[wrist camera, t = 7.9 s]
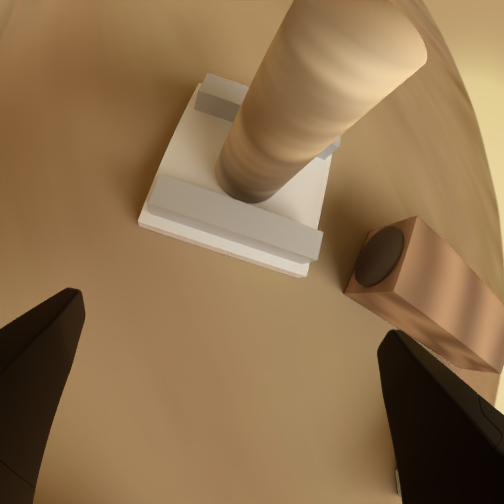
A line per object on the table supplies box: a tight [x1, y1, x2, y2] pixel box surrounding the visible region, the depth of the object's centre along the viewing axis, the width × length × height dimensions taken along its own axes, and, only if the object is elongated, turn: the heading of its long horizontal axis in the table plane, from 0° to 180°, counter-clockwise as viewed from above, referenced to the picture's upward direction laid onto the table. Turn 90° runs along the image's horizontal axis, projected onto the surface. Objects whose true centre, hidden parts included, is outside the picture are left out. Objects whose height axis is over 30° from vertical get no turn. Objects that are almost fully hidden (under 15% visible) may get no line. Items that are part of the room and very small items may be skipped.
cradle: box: [138, 73, 341, 278], centre depth 17 cm, size 10×10×3 cm
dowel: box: [215, 0, 427, 204], centre depth 12 cm, size 4×4×12 cm
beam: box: [344, 216, 504, 374], centre depth 19 cm, size 16×5×5 cm, turn 61°
